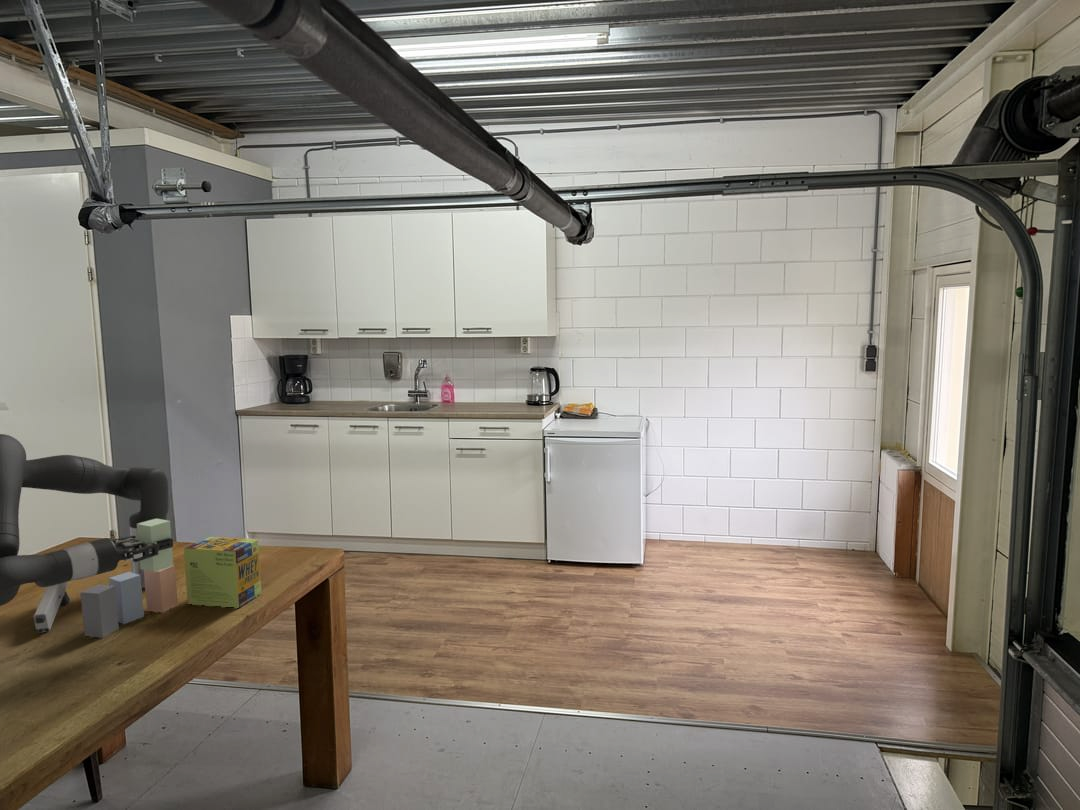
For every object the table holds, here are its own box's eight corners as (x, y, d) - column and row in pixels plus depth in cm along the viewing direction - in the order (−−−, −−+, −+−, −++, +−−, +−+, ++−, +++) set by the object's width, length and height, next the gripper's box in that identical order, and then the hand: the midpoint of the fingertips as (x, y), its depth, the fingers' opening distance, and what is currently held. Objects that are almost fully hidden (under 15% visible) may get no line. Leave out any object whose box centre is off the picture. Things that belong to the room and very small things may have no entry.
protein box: (239, 609, 185) (235, 551, 183) (187, 605, 188) (182, 548, 186) (262, 593, 195) (259, 538, 193) (212, 590, 198) (208, 535, 196)
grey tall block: (84, 636, 169) (80, 592, 168) (101, 627, 174) (97, 584, 173) (102, 638, 168) (98, 593, 167) (119, 629, 173) (115, 585, 172)
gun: (73, 591, 194) (68, 560, 191) (51, 650, 173) (44, 615, 169) (62, 593, 194) (57, 561, 190) (39, 652, 172) (32, 617, 168)
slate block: (112, 620, 179) (108, 578, 177) (132, 613, 183) (129, 571, 181) (123, 624, 176) (120, 581, 175) (143, 617, 180) (140, 575, 179)
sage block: (140, 568, 169) (136, 523, 168) (159, 562, 174) (156, 518, 172) (153, 572, 167) (150, 526, 166) (173, 565, 171) (170, 520, 170)
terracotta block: (147, 611, 184) (143, 569, 183) (162, 603, 189) (159, 563, 187) (163, 613, 183) (159, 571, 181) (177, 605, 187) (174, 565, 186)
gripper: (101, 549, 154) (180, 529, 167) (73, 537, 162) (149, 519, 175) (104, 582, 154) (182, 560, 168) (76, 569, 163) (152, 549, 176)
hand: (165, 539), depth 172 cm, fingers closed on sage block, 5 cm apart
